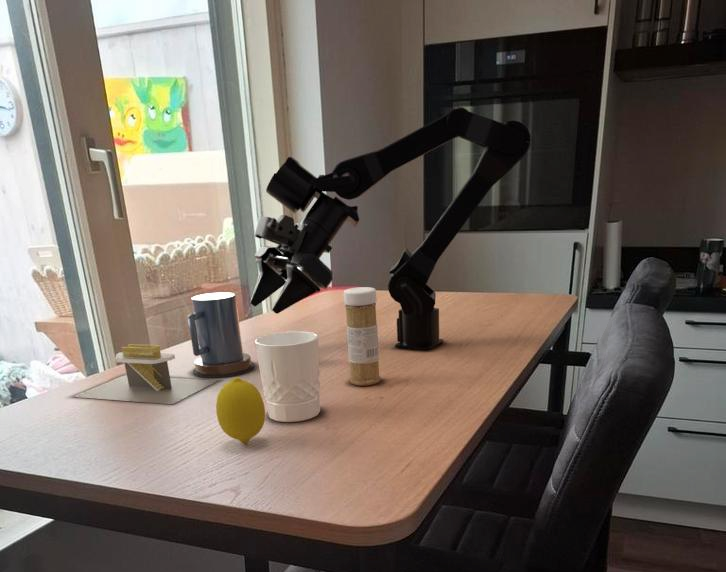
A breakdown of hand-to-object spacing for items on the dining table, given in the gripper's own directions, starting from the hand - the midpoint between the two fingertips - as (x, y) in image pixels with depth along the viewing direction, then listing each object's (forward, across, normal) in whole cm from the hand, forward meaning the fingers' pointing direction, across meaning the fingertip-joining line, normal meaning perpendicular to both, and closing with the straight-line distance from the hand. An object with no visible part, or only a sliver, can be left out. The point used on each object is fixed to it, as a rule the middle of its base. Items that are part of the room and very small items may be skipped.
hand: (263, 308), depth 114 cm
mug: (+12, 0, +1) cm, 12 cm away
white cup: (+12, +29, 0) cm, 31 cm away
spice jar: (+2, +22, +11) cm, 25 cm away
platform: (+21, +2, -9) cm, 23 cm away
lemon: (+19, +35, -6) cm, 40 cm away
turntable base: (+12, 0, +1) cm, 12 cm away
